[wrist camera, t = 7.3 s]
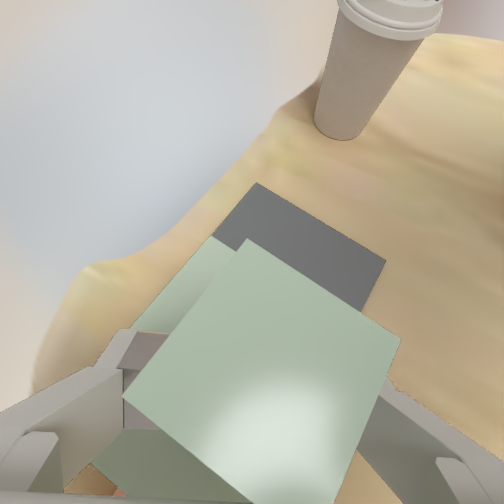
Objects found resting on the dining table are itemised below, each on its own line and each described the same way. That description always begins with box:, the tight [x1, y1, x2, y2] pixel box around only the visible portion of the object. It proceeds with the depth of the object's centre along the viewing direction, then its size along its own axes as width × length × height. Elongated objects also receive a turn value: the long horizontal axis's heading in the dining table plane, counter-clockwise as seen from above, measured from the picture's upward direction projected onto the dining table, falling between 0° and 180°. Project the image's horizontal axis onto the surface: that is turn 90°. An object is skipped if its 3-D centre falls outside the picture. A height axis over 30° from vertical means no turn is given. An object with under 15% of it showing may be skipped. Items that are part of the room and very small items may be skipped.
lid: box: [90, 235, 401, 504], centre depth 9 cm, size 10×10×10 cm
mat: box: [211, 182, 386, 312], centre depth 29 cm, size 16×16×1 cm
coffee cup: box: [314, 0, 443, 140], centre depth 33 cm, size 10×10×15 cm
